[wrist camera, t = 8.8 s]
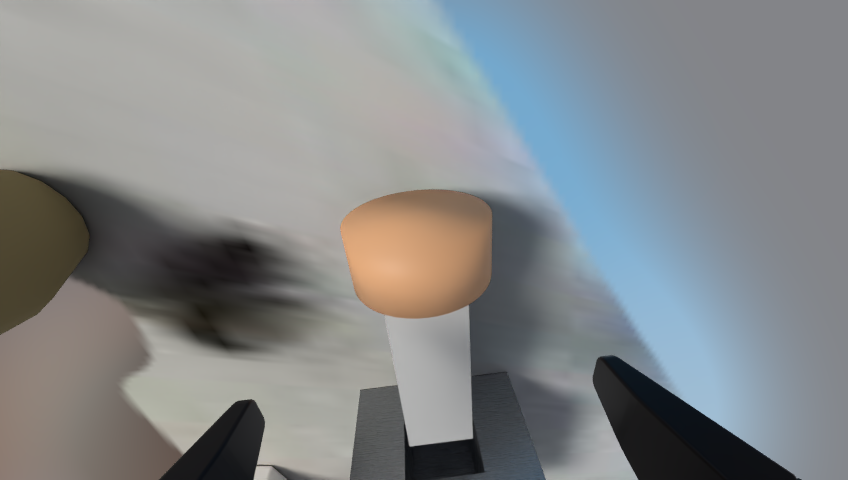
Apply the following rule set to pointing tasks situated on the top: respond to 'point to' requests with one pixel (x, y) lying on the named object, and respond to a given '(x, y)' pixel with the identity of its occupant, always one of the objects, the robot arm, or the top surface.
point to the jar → (267, 473)
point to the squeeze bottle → (35, 246)
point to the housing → (448, 461)
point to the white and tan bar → (424, 297)
